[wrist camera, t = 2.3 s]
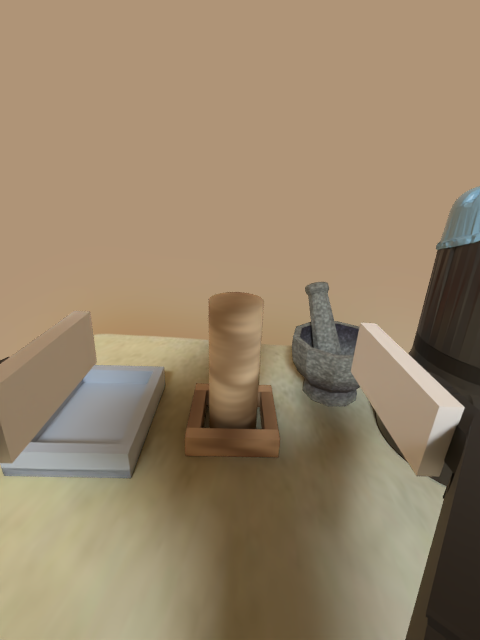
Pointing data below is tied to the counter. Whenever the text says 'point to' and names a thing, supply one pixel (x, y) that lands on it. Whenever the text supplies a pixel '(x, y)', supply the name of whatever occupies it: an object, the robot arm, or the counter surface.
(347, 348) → the mortar and pestle
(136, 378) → the tray
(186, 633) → the counter surface
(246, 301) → the dowel
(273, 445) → the socket block
